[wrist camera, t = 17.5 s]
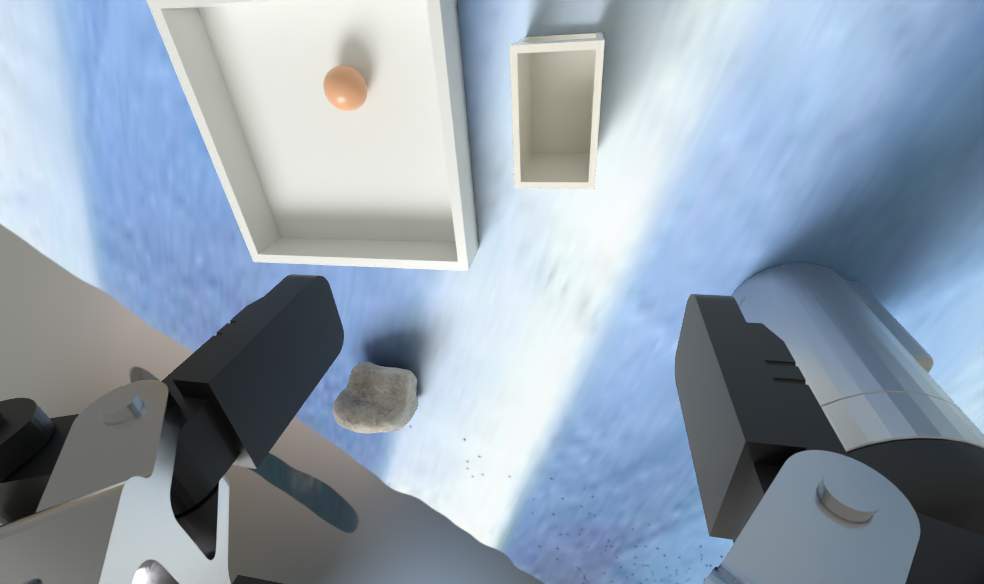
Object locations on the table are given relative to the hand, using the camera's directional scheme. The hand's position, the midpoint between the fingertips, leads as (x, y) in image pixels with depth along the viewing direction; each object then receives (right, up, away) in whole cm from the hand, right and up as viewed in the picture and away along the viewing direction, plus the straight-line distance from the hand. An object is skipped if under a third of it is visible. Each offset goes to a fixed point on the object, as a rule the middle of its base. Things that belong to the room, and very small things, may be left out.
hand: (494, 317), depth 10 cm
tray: (-12, +13, +26) cm, 31 cm away
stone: (-7, -12, +40) cm, 43 cm away
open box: (+5, +14, +21) cm, 26 cm away
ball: (-11, +15, +22) cm, 28 cm away
